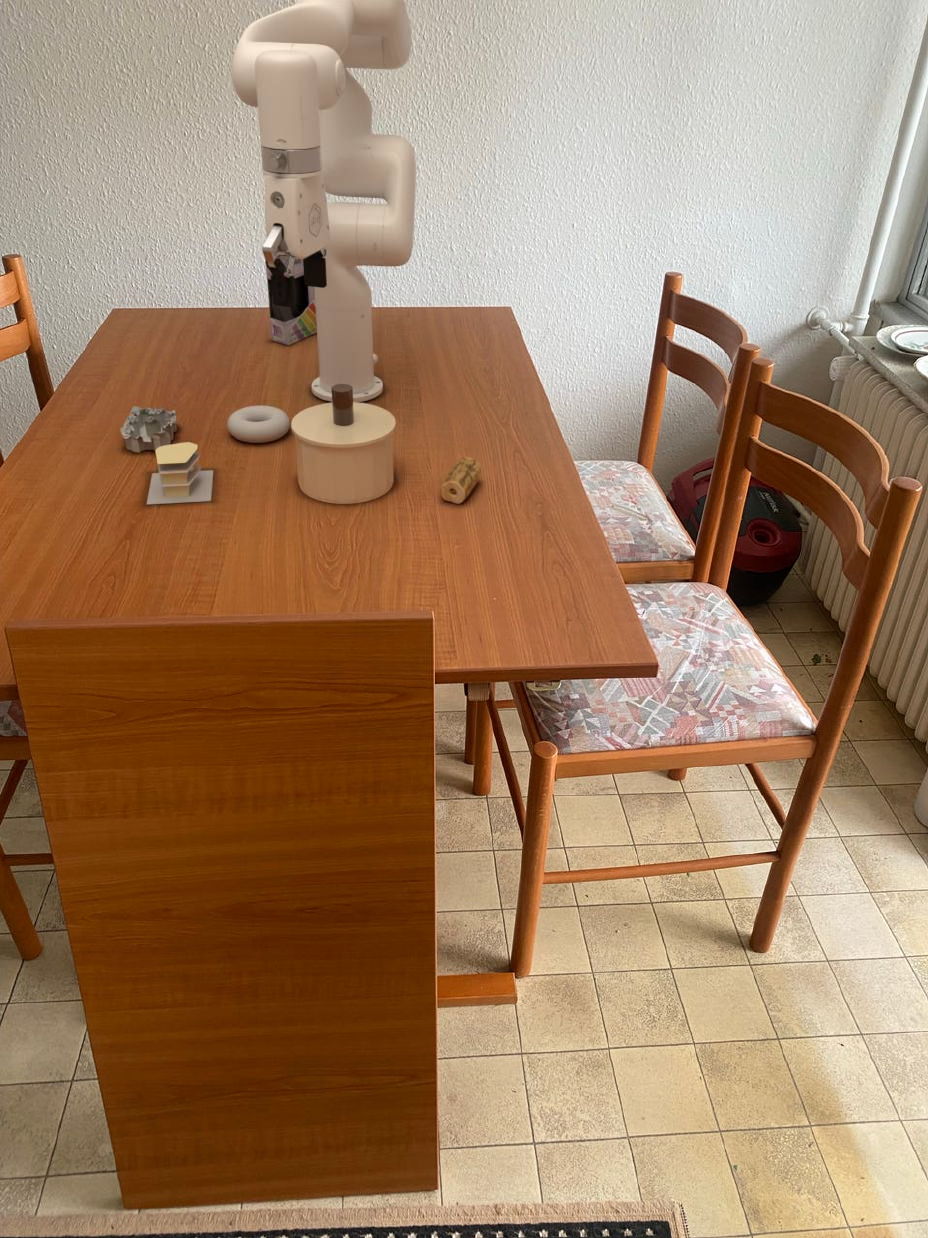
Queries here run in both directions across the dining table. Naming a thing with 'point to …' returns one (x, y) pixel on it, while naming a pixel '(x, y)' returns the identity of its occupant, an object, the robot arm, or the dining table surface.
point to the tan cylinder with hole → (460, 480)
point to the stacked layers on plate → (179, 476)
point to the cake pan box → (293, 310)
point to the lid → (343, 422)
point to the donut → (258, 424)
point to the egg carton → (148, 428)
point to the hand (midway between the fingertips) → (300, 295)
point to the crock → (345, 471)
